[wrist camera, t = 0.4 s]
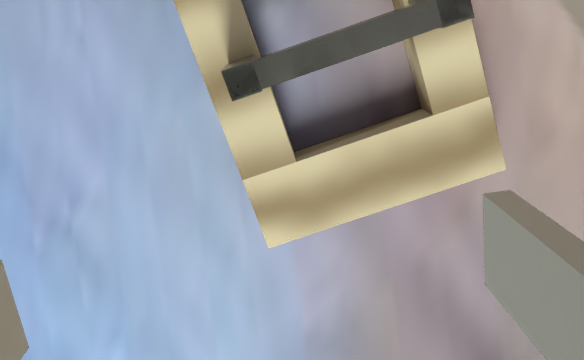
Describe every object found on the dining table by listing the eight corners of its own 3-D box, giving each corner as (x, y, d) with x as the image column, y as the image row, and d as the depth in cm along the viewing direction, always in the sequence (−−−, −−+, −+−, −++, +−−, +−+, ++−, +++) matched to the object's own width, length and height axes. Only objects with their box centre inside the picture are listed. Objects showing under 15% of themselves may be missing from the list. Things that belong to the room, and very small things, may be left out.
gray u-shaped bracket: (231, 59, 39) (220, 71, 30) (421, -8, 38) (466, -16, 29) (239, 84, 39) (232, 101, 31) (428, 18, 39) (474, 17, 30)
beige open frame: (141, -102, 36) (130, -113, 33) (403, -199, 35) (416, -219, 32) (268, 232, 43) (268, 248, 40) (489, 159, 42) (506, 169, 39)
